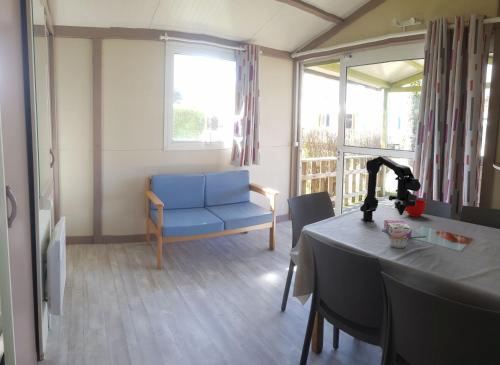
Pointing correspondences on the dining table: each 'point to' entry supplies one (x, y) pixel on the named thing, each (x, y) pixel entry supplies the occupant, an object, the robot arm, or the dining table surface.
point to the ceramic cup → (416, 208)
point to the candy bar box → (397, 226)
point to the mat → (413, 234)
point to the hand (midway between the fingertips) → (400, 215)
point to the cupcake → (398, 238)
